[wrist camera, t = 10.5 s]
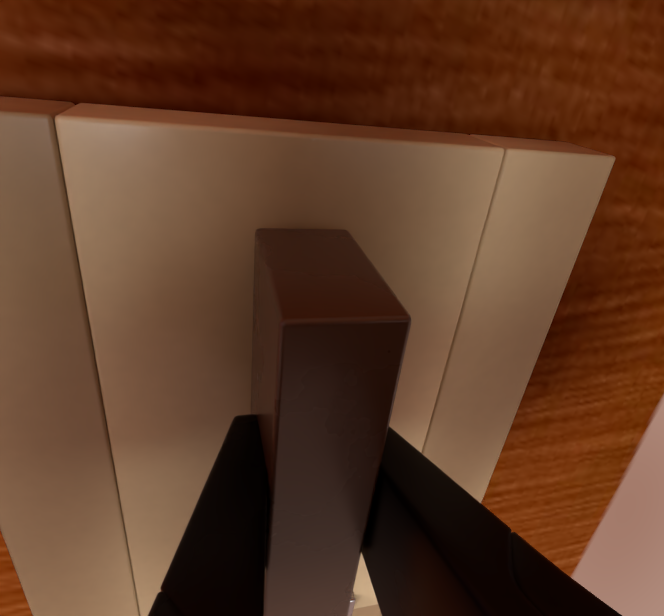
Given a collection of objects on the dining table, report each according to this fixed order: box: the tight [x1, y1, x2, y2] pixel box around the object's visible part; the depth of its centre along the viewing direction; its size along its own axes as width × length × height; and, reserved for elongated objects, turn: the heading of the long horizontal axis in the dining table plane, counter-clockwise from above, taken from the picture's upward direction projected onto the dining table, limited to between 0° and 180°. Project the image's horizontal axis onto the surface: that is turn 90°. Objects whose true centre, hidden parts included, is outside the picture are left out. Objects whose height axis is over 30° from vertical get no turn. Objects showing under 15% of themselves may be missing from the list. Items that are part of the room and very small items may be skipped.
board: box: [0, 96, 615, 616], centre depth 14 cm, size 12×24×2 cm, turn 174°
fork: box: [251, 228, 412, 616], centre depth 10 cm, size 4×15×3 cm, turn 174°
